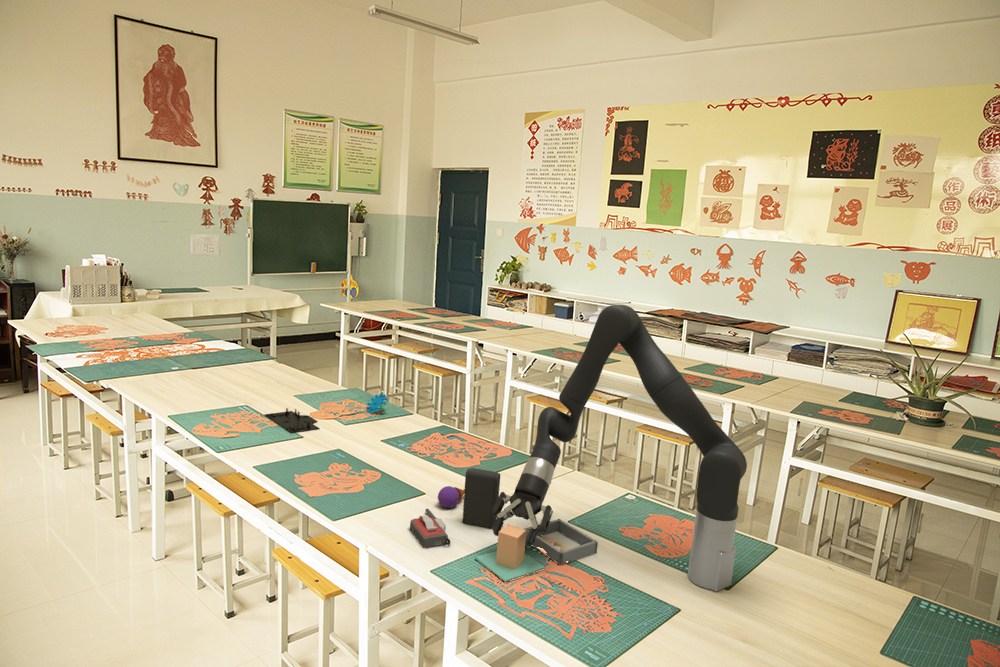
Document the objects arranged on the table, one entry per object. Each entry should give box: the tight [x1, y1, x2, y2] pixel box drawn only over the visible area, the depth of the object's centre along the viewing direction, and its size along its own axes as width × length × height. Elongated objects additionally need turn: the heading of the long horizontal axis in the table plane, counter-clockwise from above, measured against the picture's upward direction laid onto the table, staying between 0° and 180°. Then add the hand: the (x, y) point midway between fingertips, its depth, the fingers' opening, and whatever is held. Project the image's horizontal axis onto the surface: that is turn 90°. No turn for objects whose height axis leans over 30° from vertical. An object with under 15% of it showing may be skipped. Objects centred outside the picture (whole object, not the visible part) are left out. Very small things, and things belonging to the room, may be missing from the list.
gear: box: [365, 392, 389, 415], centre depth 268 cm, size 11×6×10 cm
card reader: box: [462, 467, 501, 529], centre depth 174 cm, size 9×4×15 cm, turn 77°
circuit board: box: [263, 407, 321, 435], centre depth 247 cm, size 25×14×3 cm, turn 41°
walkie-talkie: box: [409, 508, 451, 549], centre depth 168 cm, size 9×4×20 cm
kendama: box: [437, 485, 465, 509], centre depth 189 cm, size 6×6×20 cm
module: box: [496, 523, 527, 570], centre depth 154 cm, size 5×5×8 cm
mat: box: [474, 550, 546, 583], centre depth 155 cm, size 12×12×1 cm
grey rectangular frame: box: [524, 518, 599, 566], centre depth 166 cm, size 15×13×3 cm
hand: (511, 539), depth 153 cm, fingers open, 8 cm apart
